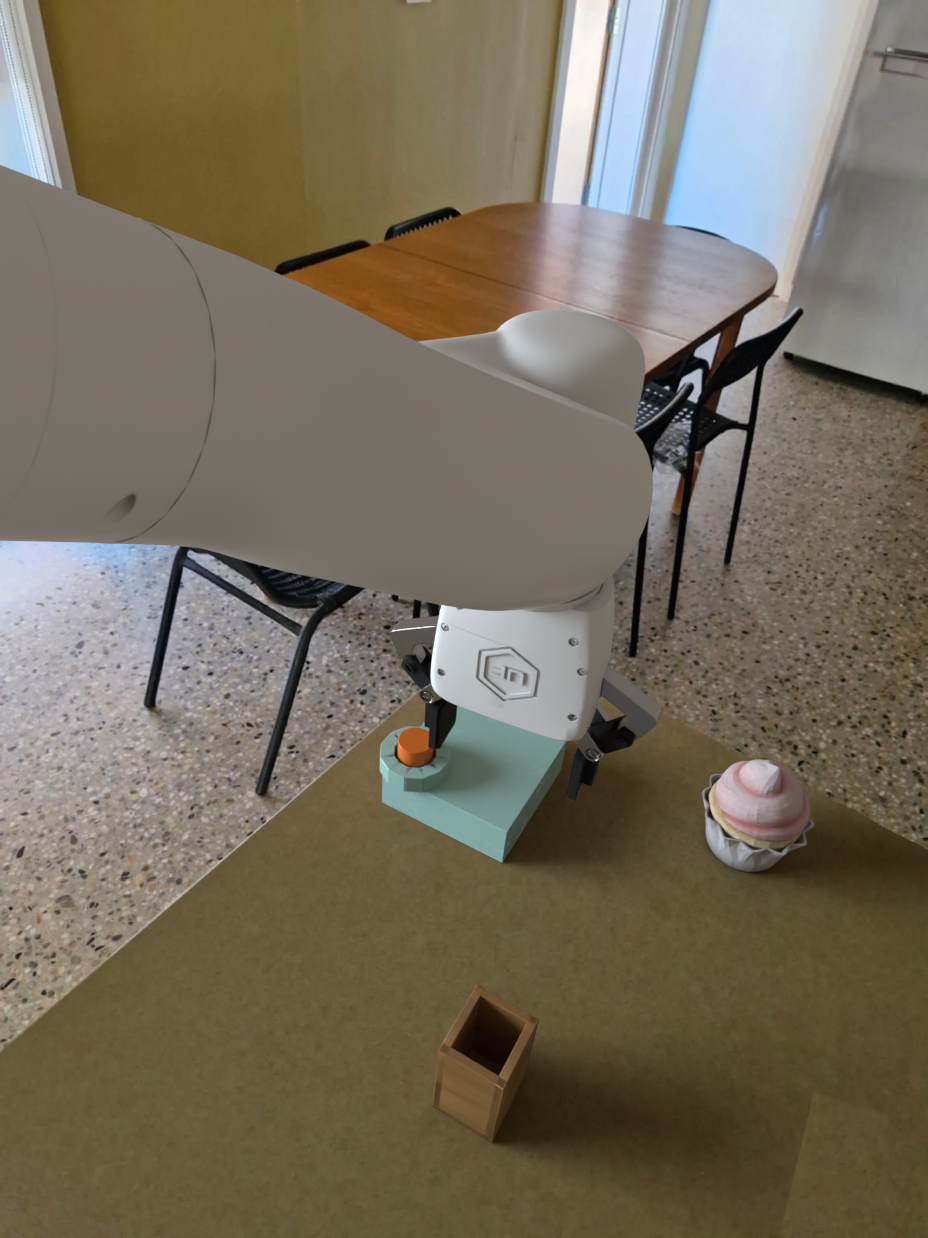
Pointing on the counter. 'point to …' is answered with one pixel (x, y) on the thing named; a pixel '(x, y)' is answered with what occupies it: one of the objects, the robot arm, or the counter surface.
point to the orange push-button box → (475, 781)
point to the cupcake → (755, 814)
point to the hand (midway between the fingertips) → (508, 759)
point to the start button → (414, 747)
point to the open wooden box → (483, 1062)
